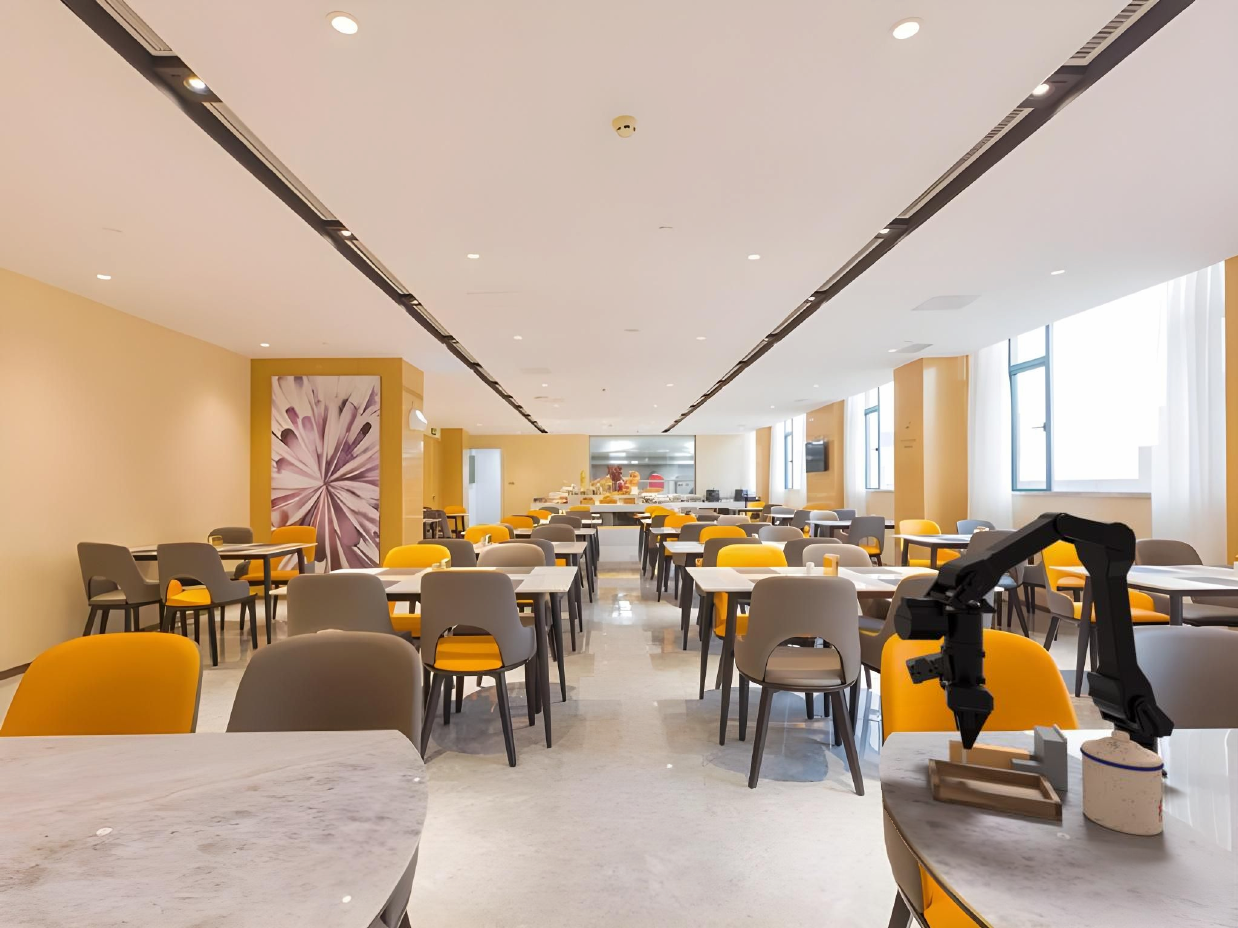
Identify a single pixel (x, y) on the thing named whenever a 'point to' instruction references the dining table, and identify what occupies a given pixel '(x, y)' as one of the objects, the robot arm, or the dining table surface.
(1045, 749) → the grey slotted holder
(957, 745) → the tan elongated block
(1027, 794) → the tray
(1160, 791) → the teacup with lid
